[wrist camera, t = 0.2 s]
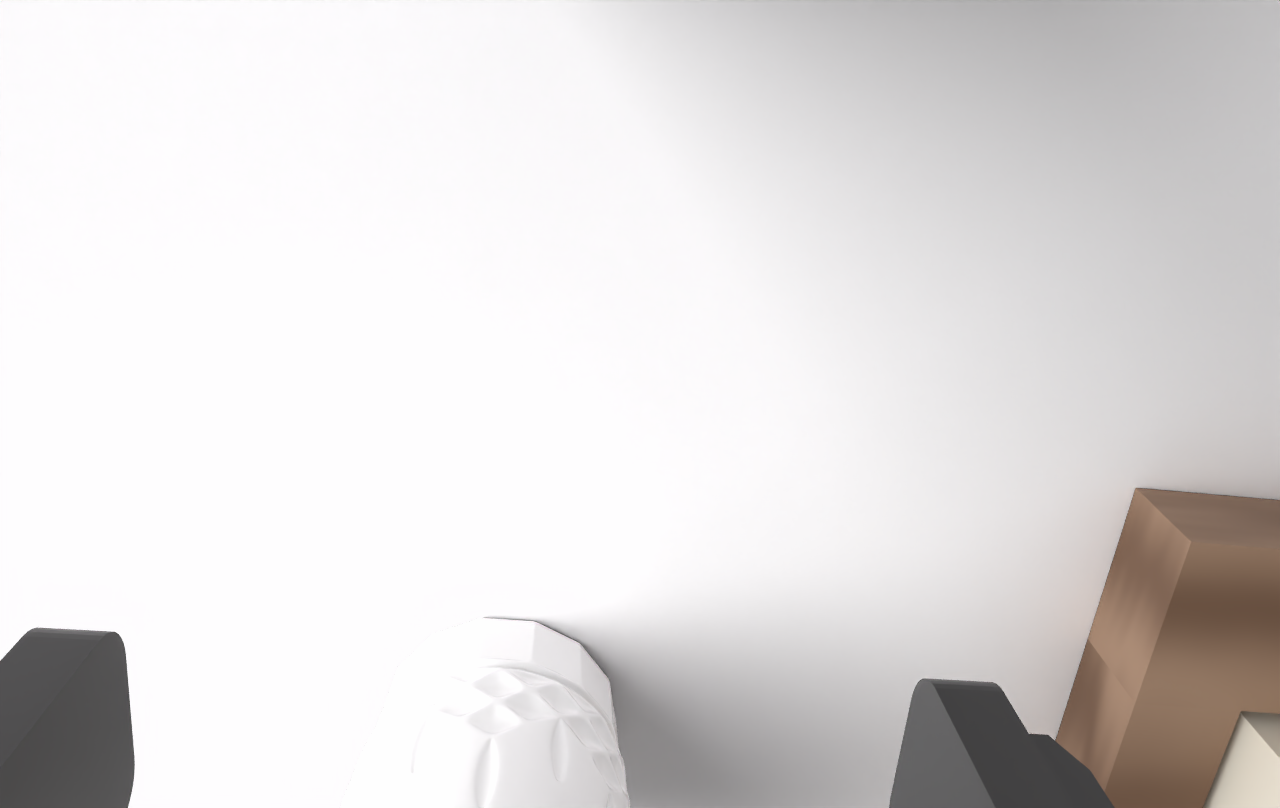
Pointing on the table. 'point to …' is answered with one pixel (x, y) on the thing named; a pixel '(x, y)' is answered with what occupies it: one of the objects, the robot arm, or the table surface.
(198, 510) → the table surface
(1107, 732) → the button board
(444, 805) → the white cup
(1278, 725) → the cream pad
